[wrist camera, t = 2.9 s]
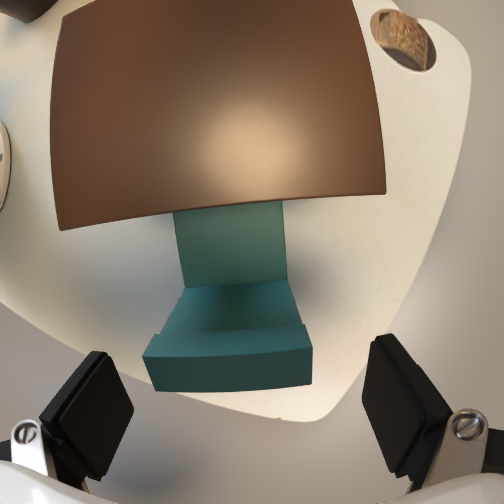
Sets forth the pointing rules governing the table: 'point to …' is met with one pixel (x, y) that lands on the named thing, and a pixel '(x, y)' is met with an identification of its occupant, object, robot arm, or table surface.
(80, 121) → the side table
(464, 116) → the table surface
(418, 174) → the table surface
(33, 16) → the water bottle
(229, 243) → the chair
